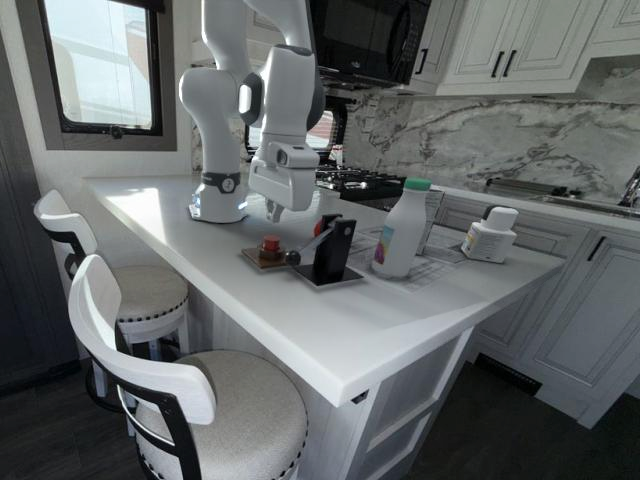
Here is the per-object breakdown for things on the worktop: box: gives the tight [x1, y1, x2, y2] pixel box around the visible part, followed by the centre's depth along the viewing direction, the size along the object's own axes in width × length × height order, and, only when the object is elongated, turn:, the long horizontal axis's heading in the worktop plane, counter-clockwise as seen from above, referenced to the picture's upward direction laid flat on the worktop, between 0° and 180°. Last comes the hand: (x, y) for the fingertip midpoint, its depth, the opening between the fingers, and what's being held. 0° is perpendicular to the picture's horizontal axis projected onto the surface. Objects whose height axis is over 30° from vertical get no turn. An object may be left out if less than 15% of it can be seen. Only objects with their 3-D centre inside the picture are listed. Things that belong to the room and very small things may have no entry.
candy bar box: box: [415, 183, 446, 256], centre depth 80 cm, size 11×5×16 cm, turn 168°
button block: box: [241, 242, 288, 270], centre depth 70 cm, size 10×10×4 cm
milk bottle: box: [370, 177, 433, 278], centre depth 64 cm, size 8×8×20 cm
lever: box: [285, 216, 346, 268], centre depth 60 cm, size 14×3×3 cm
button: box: [262, 234, 281, 251], centre depth 69 cm, size 4×4×3 cm
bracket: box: [291, 213, 365, 287], centre depth 62 cm, size 12×9×13 cm
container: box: [460, 204, 520, 264], centre depth 78 cm, size 8×8×13 cm
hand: (272, 220), depth 67 cm, fingers closed
